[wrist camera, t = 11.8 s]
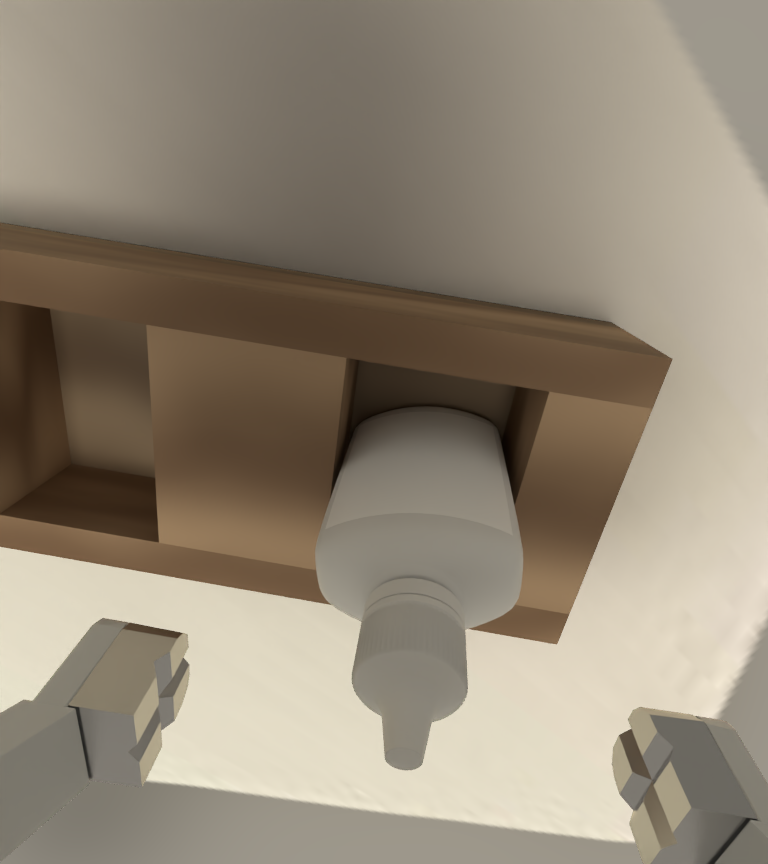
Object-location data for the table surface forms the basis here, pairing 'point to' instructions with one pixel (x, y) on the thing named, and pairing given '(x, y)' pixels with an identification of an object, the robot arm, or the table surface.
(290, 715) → the table surface
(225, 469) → the walnut slot rail
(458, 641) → the eye dropper bottle
